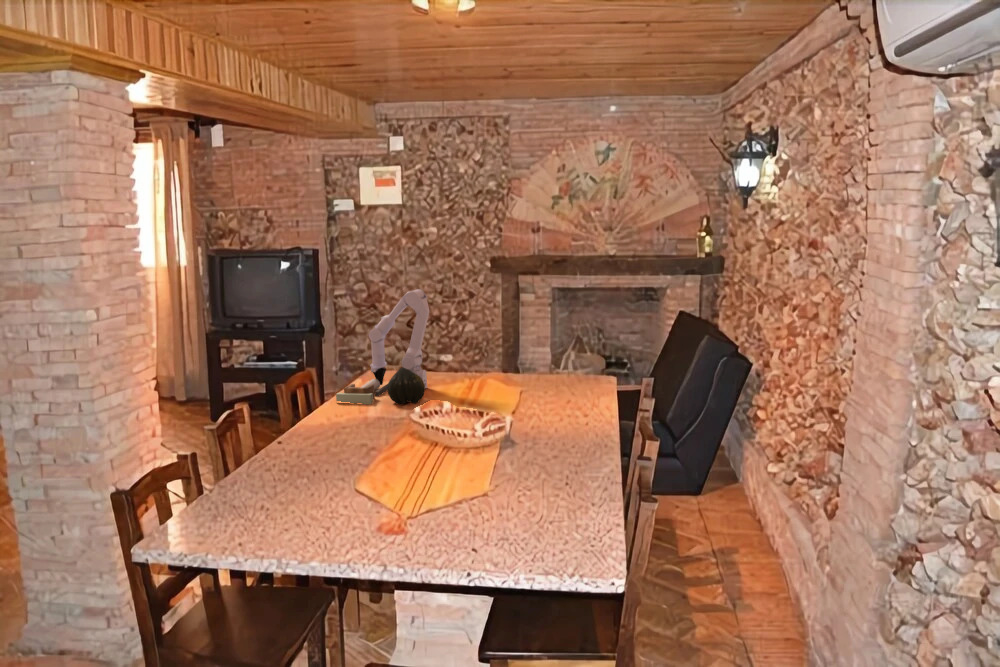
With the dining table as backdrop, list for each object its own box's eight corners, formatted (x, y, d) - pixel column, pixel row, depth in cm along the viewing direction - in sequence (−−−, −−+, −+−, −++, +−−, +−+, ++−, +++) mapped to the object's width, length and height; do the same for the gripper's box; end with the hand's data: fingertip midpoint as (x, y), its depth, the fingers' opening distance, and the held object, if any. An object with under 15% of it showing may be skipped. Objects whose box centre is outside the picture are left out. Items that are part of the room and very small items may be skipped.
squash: (417, 395, 303) (421, 362, 312) (380, 396, 306) (385, 363, 314) (425, 411, 315) (429, 379, 323) (390, 412, 317) (395, 381, 326)
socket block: (374, 398, 324) (373, 384, 323) (367, 402, 316) (366, 388, 315) (352, 397, 326) (351, 384, 325) (344, 402, 318) (343, 388, 317)
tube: (368, 379, 343) (350, 391, 319) (379, 375, 342) (361, 387, 318) (372, 390, 344) (354, 403, 319) (383, 386, 343) (366, 399, 318)
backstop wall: (373, 402, 315) (372, 393, 315) (370, 404, 313) (370, 394, 312) (339, 402, 319) (338, 392, 318) (336, 403, 316) (336, 394, 316)
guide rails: (397, 384, 351) (397, 379, 351) (378, 396, 327) (378, 391, 327) (376, 383, 353) (375, 379, 353) (355, 395, 330) (355, 391, 329)
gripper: (375, 352, 349) (377, 381, 351) (363, 357, 335) (365, 388, 337) (390, 352, 348) (391, 381, 350) (379, 358, 334) (380, 388, 336)
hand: (379, 384), depth 344 cm, fingers closed
